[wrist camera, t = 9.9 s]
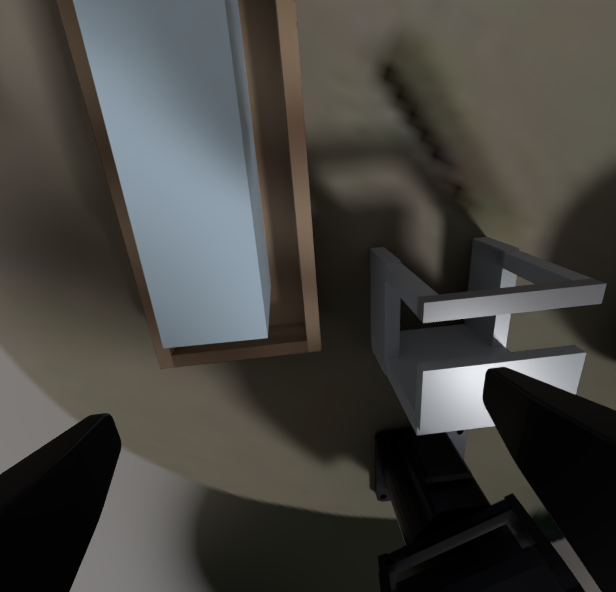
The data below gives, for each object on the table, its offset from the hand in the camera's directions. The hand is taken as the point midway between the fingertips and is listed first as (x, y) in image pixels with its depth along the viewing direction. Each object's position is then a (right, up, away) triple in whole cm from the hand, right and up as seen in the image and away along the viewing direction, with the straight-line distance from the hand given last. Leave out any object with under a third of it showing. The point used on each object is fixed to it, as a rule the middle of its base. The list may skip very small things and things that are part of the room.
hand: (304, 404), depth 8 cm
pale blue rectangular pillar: (-4, +9, +8) cm, 13 cm away
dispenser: (+7, +2, +13) cm, 15 cm away
